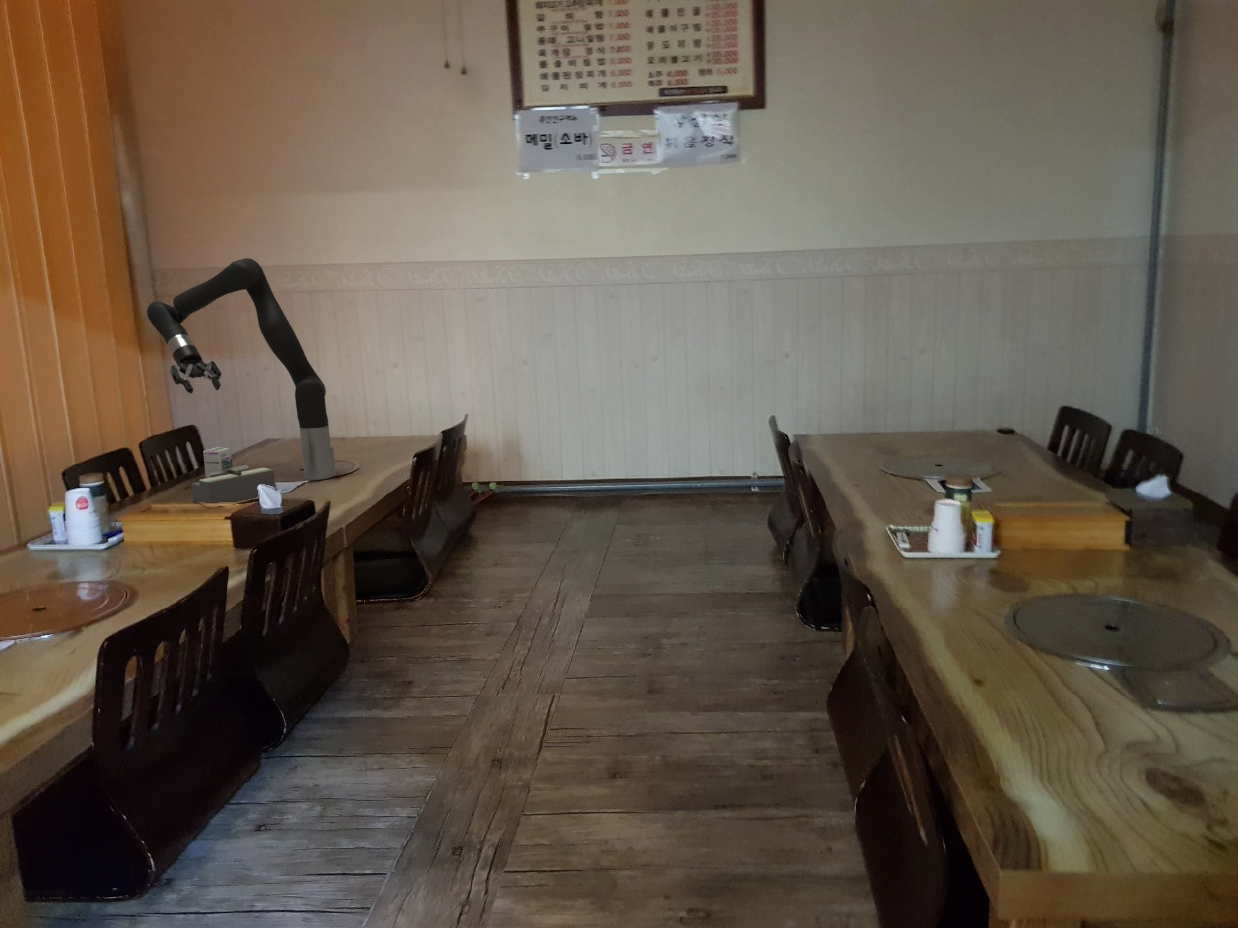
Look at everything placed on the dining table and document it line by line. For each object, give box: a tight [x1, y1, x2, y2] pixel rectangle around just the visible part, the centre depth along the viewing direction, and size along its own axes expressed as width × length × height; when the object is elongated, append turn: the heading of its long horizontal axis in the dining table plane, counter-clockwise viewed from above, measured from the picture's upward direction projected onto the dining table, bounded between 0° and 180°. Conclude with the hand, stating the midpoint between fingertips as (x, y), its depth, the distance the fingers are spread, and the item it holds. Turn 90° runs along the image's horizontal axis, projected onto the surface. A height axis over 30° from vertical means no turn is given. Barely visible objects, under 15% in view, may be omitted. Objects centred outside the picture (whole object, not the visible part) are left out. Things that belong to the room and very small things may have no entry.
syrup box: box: [203, 446, 233, 479], centre depth 300 cm, size 6×6×14 cm
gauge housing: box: [191, 467, 276, 503], centre depth 295 cm, size 20×13×8 cm, turn 137°
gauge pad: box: [207, 464, 250, 478], centre depth 294 cm, size 12×8×8 cm
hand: (205, 390), depth 310 cm, fingers open, 8 cm apart
